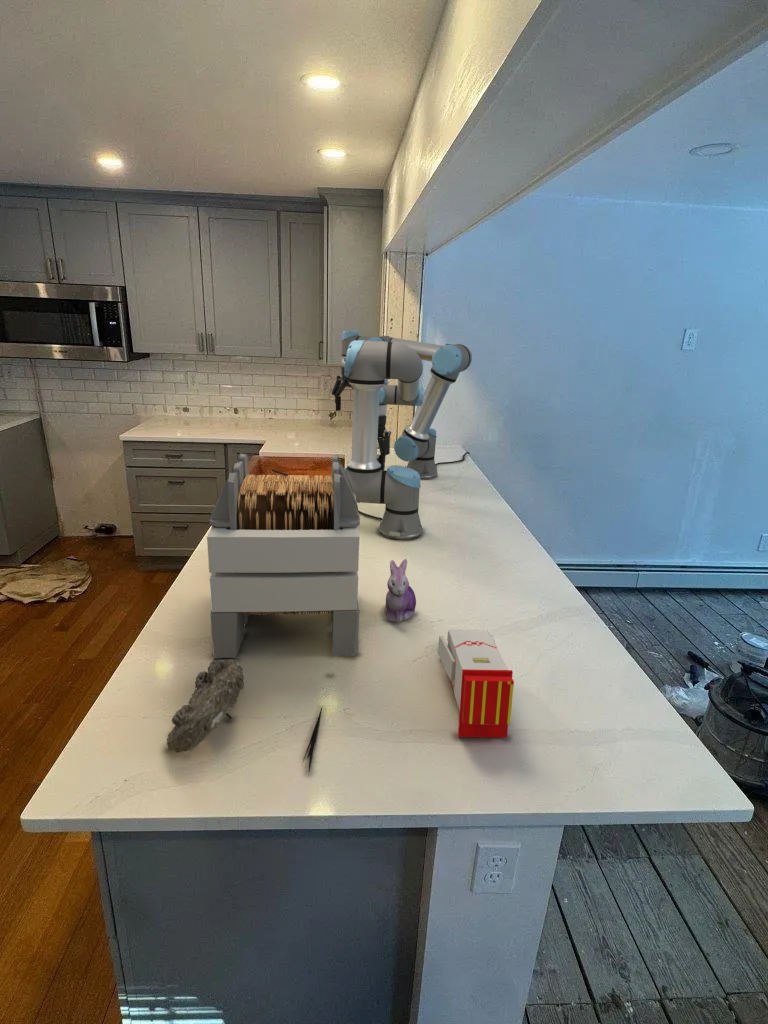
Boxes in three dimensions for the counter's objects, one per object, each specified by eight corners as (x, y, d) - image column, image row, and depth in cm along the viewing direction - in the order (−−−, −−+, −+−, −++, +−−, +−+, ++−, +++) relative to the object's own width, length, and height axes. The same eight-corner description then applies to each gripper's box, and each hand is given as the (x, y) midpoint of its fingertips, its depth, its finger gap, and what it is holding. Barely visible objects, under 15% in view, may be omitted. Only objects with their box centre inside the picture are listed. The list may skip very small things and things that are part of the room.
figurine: (392, 627, 141) (395, 572, 136) (374, 608, 149) (376, 556, 144) (425, 619, 145) (429, 566, 140) (405, 601, 154) (408, 550, 149)
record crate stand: (232, 588, 156) (224, 444, 142) (351, 587, 160) (354, 446, 146) (210, 660, 125) (198, 483, 111) (359, 656, 128) (364, 485, 115)
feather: (331, 679, 122) (336, 673, 122) (307, 777, 96) (313, 769, 95) (324, 675, 122) (329, 669, 121) (298, 772, 95) (304, 764, 95)
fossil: (192, 660, 117) (244, 628, 112) (224, 691, 120) (276, 661, 115) (142, 746, 98) (202, 712, 93) (182, 779, 101) (242, 748, 96)
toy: (488, 613, 130) (523, 677, 101) (484, 667, 133) (517, 744, 104) (435, 612, 130) (455, 676, 101) (432, 666, 133) (451, 743, 103)
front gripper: (354, 412, 237) (353, 466, 245) (389, 418, 226) (386, 474, 234) (366, 410, 243) (364, 463, 250) (400, 416, 232) (397, 471, 239)
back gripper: (324, 363, 263) (324, 409, 270) (364, 369, 249) (363, 417, 256) (335, 363, 269) (335, 408, 276) (375, 368, 254) (374, 415, 261)
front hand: (375, 468), depth 242 cm, fingers closed on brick, 6 cm apart
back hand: (348, 412), depth 266 cm, fingers open, 13 cm apart
